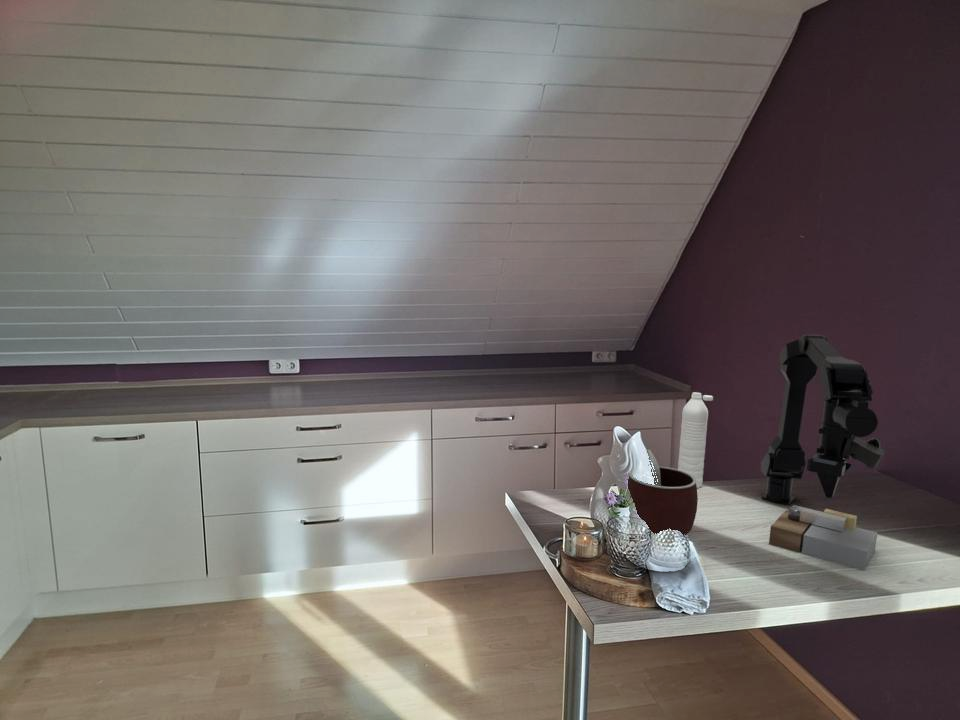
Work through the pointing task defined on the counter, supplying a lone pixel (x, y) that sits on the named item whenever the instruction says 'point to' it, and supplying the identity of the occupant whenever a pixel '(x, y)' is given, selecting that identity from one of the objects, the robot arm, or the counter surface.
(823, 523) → the bar
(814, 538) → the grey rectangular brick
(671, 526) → the mate gourd
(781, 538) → the jamb block
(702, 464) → the water bottle
